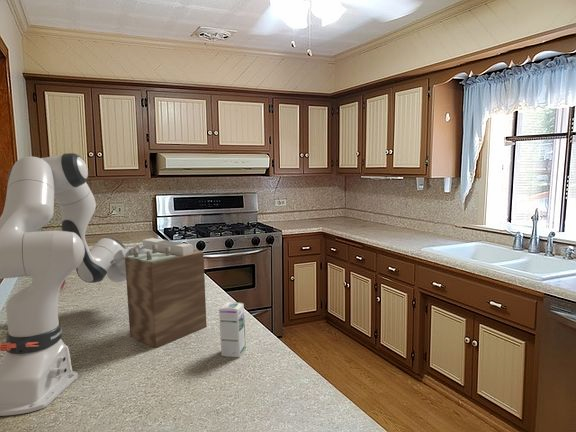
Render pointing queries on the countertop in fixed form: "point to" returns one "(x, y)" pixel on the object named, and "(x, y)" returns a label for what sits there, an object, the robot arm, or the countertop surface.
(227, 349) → the syrup box
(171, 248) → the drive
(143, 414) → the countertop surface
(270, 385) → the countertop surface
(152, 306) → the wooden peg block
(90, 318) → the countertop surface
